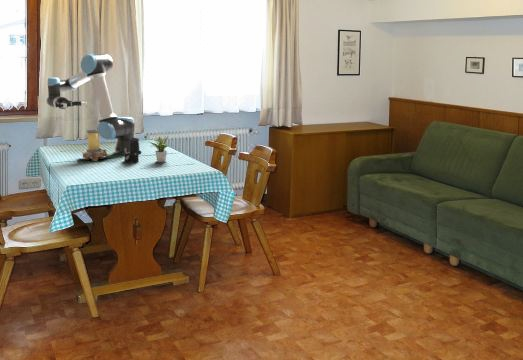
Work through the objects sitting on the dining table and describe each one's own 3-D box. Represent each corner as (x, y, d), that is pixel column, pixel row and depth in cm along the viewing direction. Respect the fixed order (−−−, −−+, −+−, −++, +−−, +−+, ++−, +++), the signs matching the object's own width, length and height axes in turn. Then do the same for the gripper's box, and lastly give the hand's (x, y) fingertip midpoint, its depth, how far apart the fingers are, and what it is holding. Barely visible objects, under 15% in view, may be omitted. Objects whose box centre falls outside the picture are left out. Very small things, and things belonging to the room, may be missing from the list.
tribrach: (105, 156, 404) (105, 149, 403) (107, 160, 391) (106, 152, 390) (82, 157, 400) (82, 150, 399) (83, 161, 387) (83, 154, 386)
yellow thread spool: (101, 149, 400) (99, 129, 397) (102, 152, 391) (100, 131, 389) (86, 150, 397) (84, 129, 394) (86, 153, 389) (85, 131, 386)
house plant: (162, 157, 400) (161, 131, 397) (178, 160, 392) (177, 133, 389) (145, 161, 389) (144, 134, 385) (162, 163, 381) (161, 136, 378)
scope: (123, 138, 388) (140, 137, 391) (124, 160, 391) (140, 159, 394) (124, 140, 380) (141, 139, 383) (125, 163, 383) (142, 162, 386)
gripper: (79, 107, 424) (95, 109, 409) (43, 110, 408) (58, 112, 393) (78, 95, 423) (94, 98, 407) (42, 98, 406) (57, 100, 391)
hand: (76, 105), depth 400 cm, fingers open, 13 cm apart
